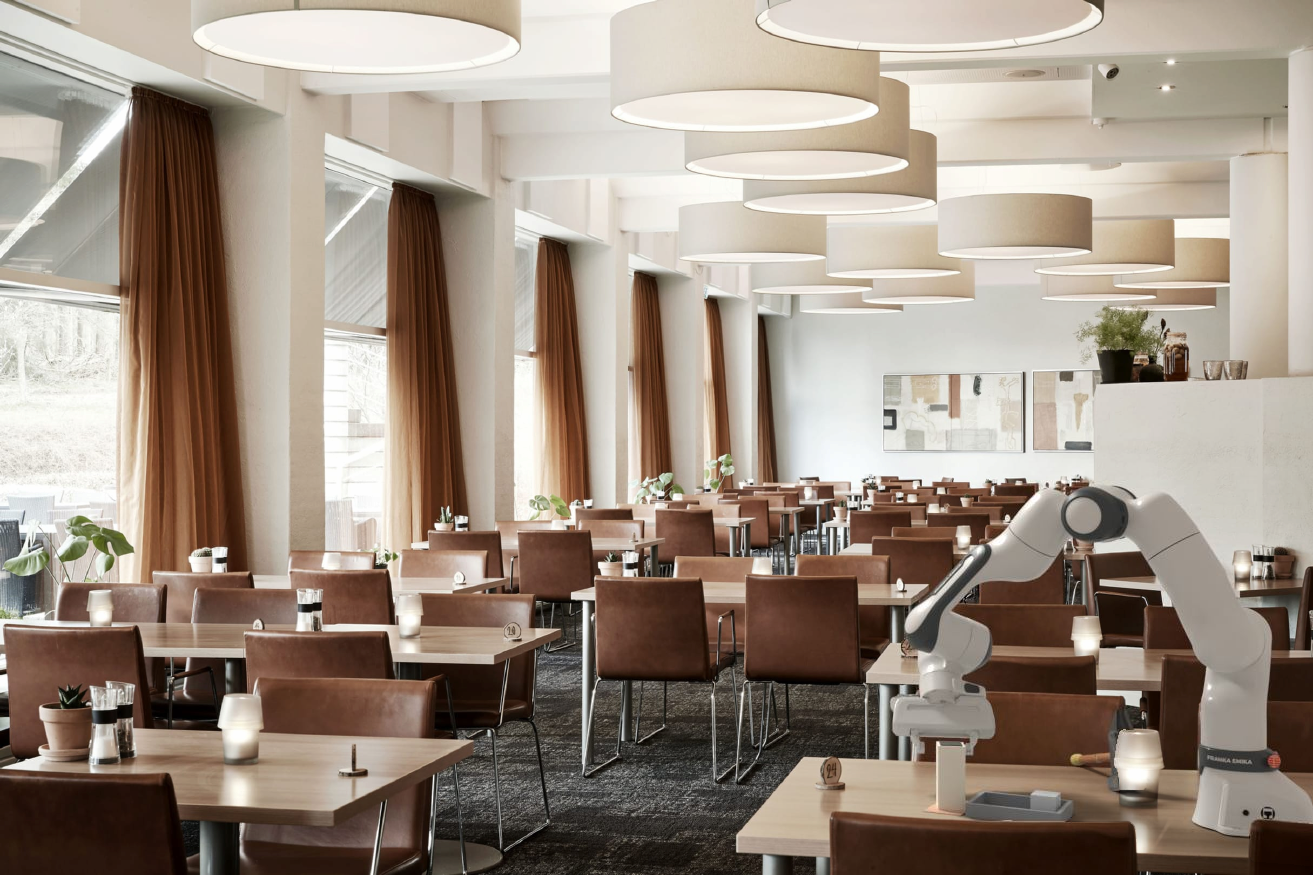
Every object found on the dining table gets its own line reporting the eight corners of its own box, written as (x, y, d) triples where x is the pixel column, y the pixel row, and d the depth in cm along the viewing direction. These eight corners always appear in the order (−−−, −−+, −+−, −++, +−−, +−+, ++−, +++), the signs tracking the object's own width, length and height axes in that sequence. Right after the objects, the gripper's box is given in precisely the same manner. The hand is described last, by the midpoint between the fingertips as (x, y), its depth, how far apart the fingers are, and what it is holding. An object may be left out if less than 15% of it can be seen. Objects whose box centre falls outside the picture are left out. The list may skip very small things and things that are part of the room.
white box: (962, 804, 266) (962, 741, 266) (965, 810, 261) (965, 745, 261) (936, 803, 267) (936, 740, 267) (938, 809, 262) (938, 745, 262)
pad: (976, 806, 267) (976, 803, 267) (960, 818, 257) (960, 815, 257) (940, 802, 270) (940, 799, 270) (923, 814, 260) (923, 810, 260)
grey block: (1060, 817, 257) (1060, 792, 257) (1055, 822, 253) (1055, 797, 253) (1035, 814, 259) (1035, 790, 259) (1030, 819, 255) (1030, 794, 255)
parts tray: (1073, 816, 259) (1073, 800, 259) (1060, 830, 249) (1060, 813, 249) (981, 806, 267) (981, 790, 267) (965, 819, 256) (965, 803, 256)
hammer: (1085, 718, 311) (1139, 709, 283) (1091, 791, 307) (1147, 790, 278) (1059, 718, 311) (1111, 709, 282) (1065, 792, 307) (1118, 790, 278)
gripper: (890, 684, 286) (892, 741, 275) (992, 687, 283) (998, 744, 273) (889, 703, 290) (891, 760, 280) (990, 706, 287) (995, 763, 277)
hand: (945, 752), depth 276 cm, fingers open, 8 cm apart
